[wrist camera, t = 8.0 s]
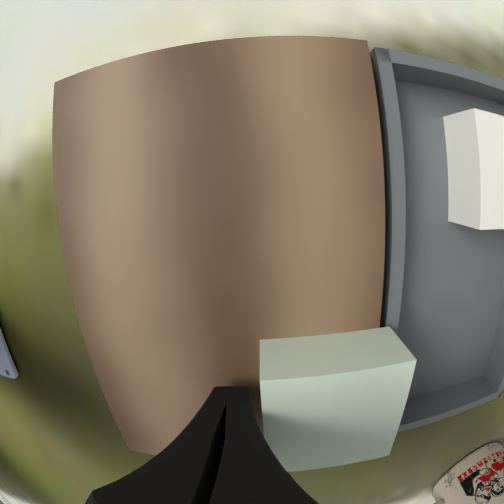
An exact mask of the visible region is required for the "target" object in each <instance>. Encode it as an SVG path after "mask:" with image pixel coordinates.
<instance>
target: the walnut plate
mask: <svg viewBox="0 0 504 504" xmlns="http://www.w3.org/2000/svg"><path fill="white" fill-rule="evenodd" d="M52 140H53V172H54V187H55V198H56V208H57V217H58V224H59V232H60V238H61V245H62V251H63V256H64V262H65V267H66V272H67V277H68V281H69V286H70V290H71V294H72V299H73V303H74V307H75V310H76V314H77V318H78V322H79V325H80V329H81V332H82V335H83V339H84V342H85V345H86V348H87V351H88V354H89V357H90V360H91V363H92V366H93V369H94V371H95V374H96V377H97V380H98V382H99V385H100V387H101V390H102V392H103V395H104V397H105V400H106V402H107V405H108V407H109V409H110V412H111V414H112V416H113V418H114V421H115V423H116V425H117V427H118V429H119V431H120V434H121V436H122V438H123V440H124V442H125V444H126V446H127V448H128V450H129V451H132V452H138V453H144V454H151V455H157V454H159V453H160V452H161V451H162V450H163V449H165V448H166V447H167V446H168V445H169V444H170V443H171V442H172V441H173V440H174V439H175V438H176V437H177V436H178V435H179V434H180V433H181V432H182V430H183V429H184V428H185V427H186V426H187V425H188V424H189V422H190V421H191V420H192V419H193V417H194V416H195V415H196V413H197V412H198V411H199V409H200V408H201V407H202V405H203V404H204V402H205V401H206V399H207V398H208V396H209V395H210V393H211V391H212V390H213V388H214V387H215V386H247V387H248V388H249V392H250V402H251V406H252V410H253V413H254V416H255V418H256V421H257V423H258V426H259V428H260V430H261V432H262V434H263V436H264V429H263V417H262V404H261V392H260V340H264V339H279V338H293V337H305V336H316V335H326V334H335V333H344V332H352V331H360V330H368V329H375V328H379V327H380V318H381V307H382V295H383V280H384V259H385V185H384V165H383V151H382V139H381V128H380V119H379V111H378V103H377V95H376V88H375V82H374V76H373V70H372V64H371V59H370V54H369V49H368V44H367V41H366V40H357V39H347V38H335V37H317V36H265V37H247V38H234V39H224V40H216V41H208V42H200V43H194V44H188V45H182V46H176V47H171V48H166V49H161V50H157V51H152V52H148V53H143V54H139V55H135V56H132V57H128V58H124V59H121V60H117V61H114V62H110V63H107V64H104V65H101V66H98V67H95V68H92V69H89V70H86V71H83V72H80V73H78V74H75V75H72V76H70V77H67V78H65V79H62V80H60V81H57V82H55V85H54V100H53V131H52Z"/></svg>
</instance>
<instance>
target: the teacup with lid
mask: <svg viewBox="0 0 504 504" xmlns="http://www.w3.org/2000/svg"><path fill="white" fill-rule="evenodd" d="M432 493H433V497H434V499H435V501H436V503H434V504H502V503H503V502H504V448H503V447H502V445H501V444H499V443H490V444H487V445H485V446H483V447H481V448H479V449H477V450H475V451H474V452H472V453H470V454H469V455H468V456H466V457H465V458H463V459H462V460H461V461H459V462H458V463H457V464H455V465H454V466H453V467H452V468H451V469H450V470H448V471H447V472H446V473H445V474H444V475H443V476H442V477H441V478H440V479H439V481H438V482H437V483H436V485H435V486H434V489H433V492H432Z"/></svg>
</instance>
